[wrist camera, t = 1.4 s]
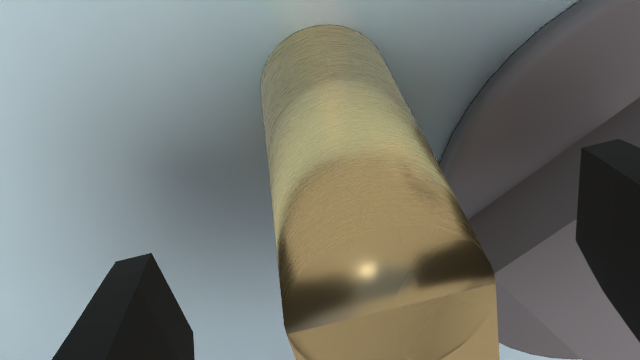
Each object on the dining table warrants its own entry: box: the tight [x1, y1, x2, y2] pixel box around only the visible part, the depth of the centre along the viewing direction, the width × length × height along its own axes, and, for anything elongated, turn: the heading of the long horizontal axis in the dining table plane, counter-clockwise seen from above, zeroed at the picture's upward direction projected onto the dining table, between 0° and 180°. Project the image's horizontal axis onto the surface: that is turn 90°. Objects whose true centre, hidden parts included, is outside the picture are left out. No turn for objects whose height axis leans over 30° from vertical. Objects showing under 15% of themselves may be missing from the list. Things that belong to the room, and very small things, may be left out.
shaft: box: [261, 25, 499, 360], centre depth 11 cm, size 4×3×7 cm
